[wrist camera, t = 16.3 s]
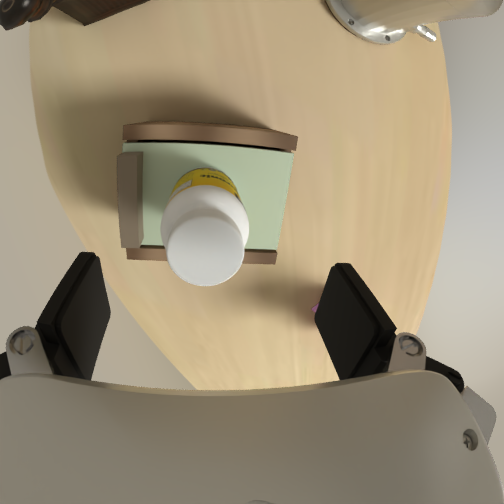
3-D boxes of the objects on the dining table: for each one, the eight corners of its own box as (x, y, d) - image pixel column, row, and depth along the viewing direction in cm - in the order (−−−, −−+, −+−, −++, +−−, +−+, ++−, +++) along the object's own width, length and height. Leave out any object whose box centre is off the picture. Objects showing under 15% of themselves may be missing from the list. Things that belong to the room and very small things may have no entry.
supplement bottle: (250, 197, 23) (279, 254, 14) (204, 238, 24) (206, 313, 15) (205, 151, 20) (204, 180, 12) (159, 197, 21) (130, 257, 13)
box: (272, 129, 28) (298, 136, 20) (258, 226, 34) (275, 264, 26) (147, 121, 25) (123, 125, 18) (145, 221, 31) (127, 259, 23)
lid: (291, 152, 22) (302, 157, 19) (275, 246, 26) (282, 260, 24) (125, 142, 19) (115, 146, 17) (127, 240, 23) (120, 254, 21)
